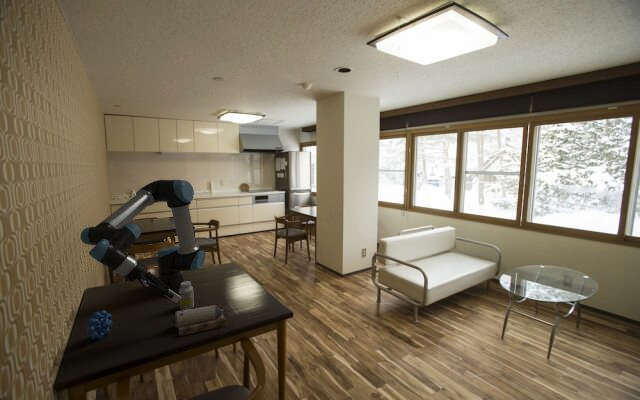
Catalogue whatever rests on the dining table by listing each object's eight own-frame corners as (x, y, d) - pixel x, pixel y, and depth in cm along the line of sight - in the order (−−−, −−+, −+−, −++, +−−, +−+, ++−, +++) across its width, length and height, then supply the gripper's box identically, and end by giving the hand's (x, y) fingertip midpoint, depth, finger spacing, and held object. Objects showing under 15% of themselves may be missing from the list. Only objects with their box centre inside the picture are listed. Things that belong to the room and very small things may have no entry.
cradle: (179, 336, 120) (178, 330, 119) (178, 318, 134) (178, 313, 134) (226, 325, 128) (226, 319, 128) (221, 309, 142) (221, 304, 142)
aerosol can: (176, 317, 130) (223, 309, 137) (176, 331, 125) (224, 322, 132) (175, 308, 126) (223, 300, 134) (174, 322, 121) (224, 313, 129)
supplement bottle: (182, 304, 148) (181, 280, 147) (196, 304, 148) (194, 280, 147) (177, 310, 141) (176, 285, 140) (191, 310, 142) (190, 285, 140)
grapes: (98, 347, 112) (96, 318, 111) (82, 346, 113) (80, 317, 112) (121, 330, 124) (119, 304, 123) (107, 330, 124) (104, 303, 123)
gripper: (125, 271, 121) (172, 300, 130) (120, 282, 109) (172, 313, 119) (139, 257, 123) (184, 287, 132) (136, 266, 111) (185, 299, 121)
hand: (178, 299), depth 125 cm, fingers closed
